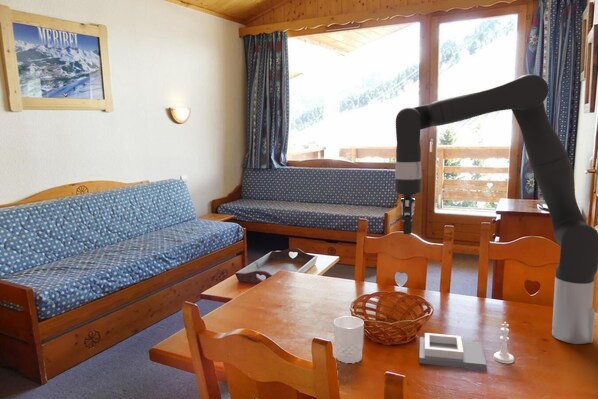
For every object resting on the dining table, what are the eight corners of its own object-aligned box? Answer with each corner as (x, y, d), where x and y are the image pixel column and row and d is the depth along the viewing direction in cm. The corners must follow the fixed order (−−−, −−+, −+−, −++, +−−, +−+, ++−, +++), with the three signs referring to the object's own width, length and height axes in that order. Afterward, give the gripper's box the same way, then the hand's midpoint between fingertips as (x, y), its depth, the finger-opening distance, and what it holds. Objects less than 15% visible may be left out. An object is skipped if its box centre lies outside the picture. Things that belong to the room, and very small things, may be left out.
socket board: (480, 347, 124) (481, 335, 123) (486, 370, 112) (486, 356, 112) (419, 342, 128) (420, 330, 127) (419, 363, 117) (419, 350, 116)
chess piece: (516, 364, 115) (518, 326, 113) (495, 362, 116) (497, 325, 114) (511, 354, 120) (513, 318, 118) (491, 353, 121) (492, 317, 119)
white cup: (356, 368, 115) (355, 330, 114) (328, 360, 119) (328, 324, 118) (368, 354, 122) (368, 319, 120) (342, 348, 126) (341, 313, 124)
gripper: (421, 179, 126) (420, 236, 128) (421, 174, 139) (420, 226, 142) (393, 179, 128) (393, 235, 130) (396, 174, 141) (396, 225, 144)
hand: (407, 230), depth 136 cm, fingers open, 8 cm apart
